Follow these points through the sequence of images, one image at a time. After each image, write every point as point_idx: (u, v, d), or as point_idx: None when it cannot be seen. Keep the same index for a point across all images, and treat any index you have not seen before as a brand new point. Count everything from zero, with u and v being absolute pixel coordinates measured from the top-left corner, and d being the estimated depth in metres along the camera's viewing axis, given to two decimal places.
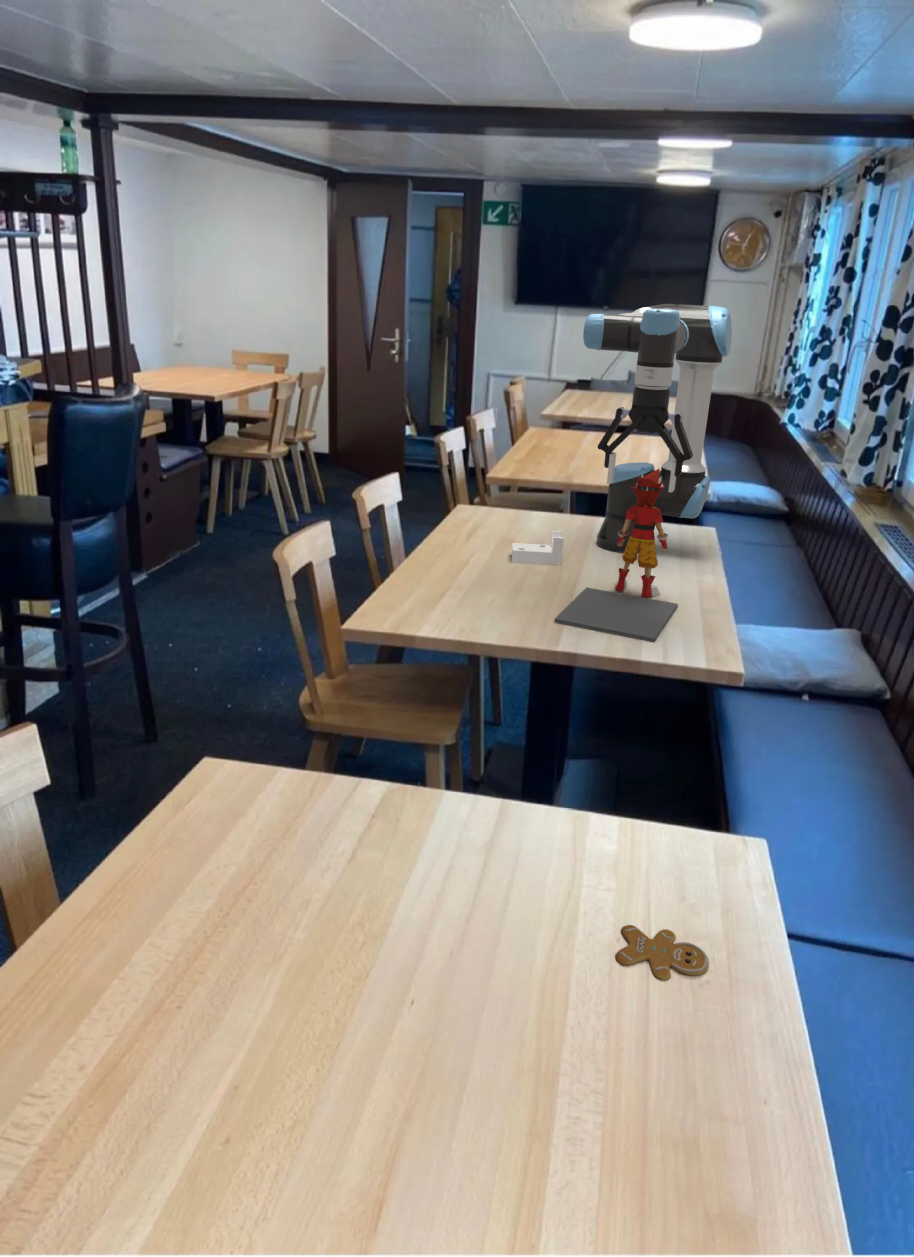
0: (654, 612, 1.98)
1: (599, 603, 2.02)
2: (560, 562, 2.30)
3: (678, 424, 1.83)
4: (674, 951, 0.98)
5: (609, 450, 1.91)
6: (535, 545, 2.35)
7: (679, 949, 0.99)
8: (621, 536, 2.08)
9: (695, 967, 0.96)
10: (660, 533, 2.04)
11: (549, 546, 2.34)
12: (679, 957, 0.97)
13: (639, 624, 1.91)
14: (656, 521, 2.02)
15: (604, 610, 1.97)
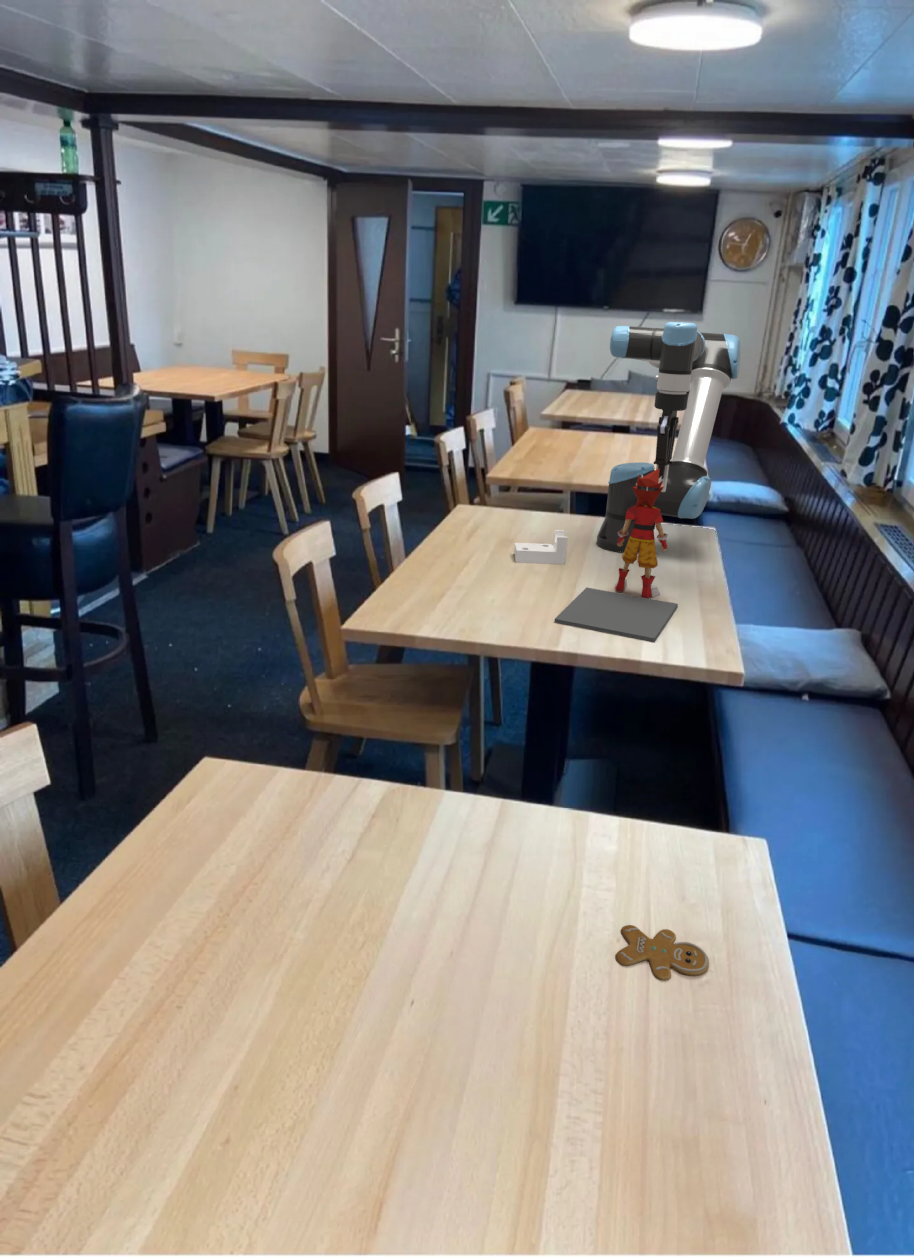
0: (654, 612, 1.98)
1: (599, 603, 2.02)
2: (564, 561, 2.31)
3: None
4: (674, 951, 0.98)
5: None
6: (538, 544, 2.35)
7: (679, 949, 0.99)
8: (621, 536, 2.08)
9: (695, 967, 0.96)
10: (660, 533, 2.04)
11: (552, 545, 2.35)
12: (679, 957, 0.97)
13: (639, 624, 1.91)
14: (656, 521, 2.02)
15: (604, 610, 1.97)
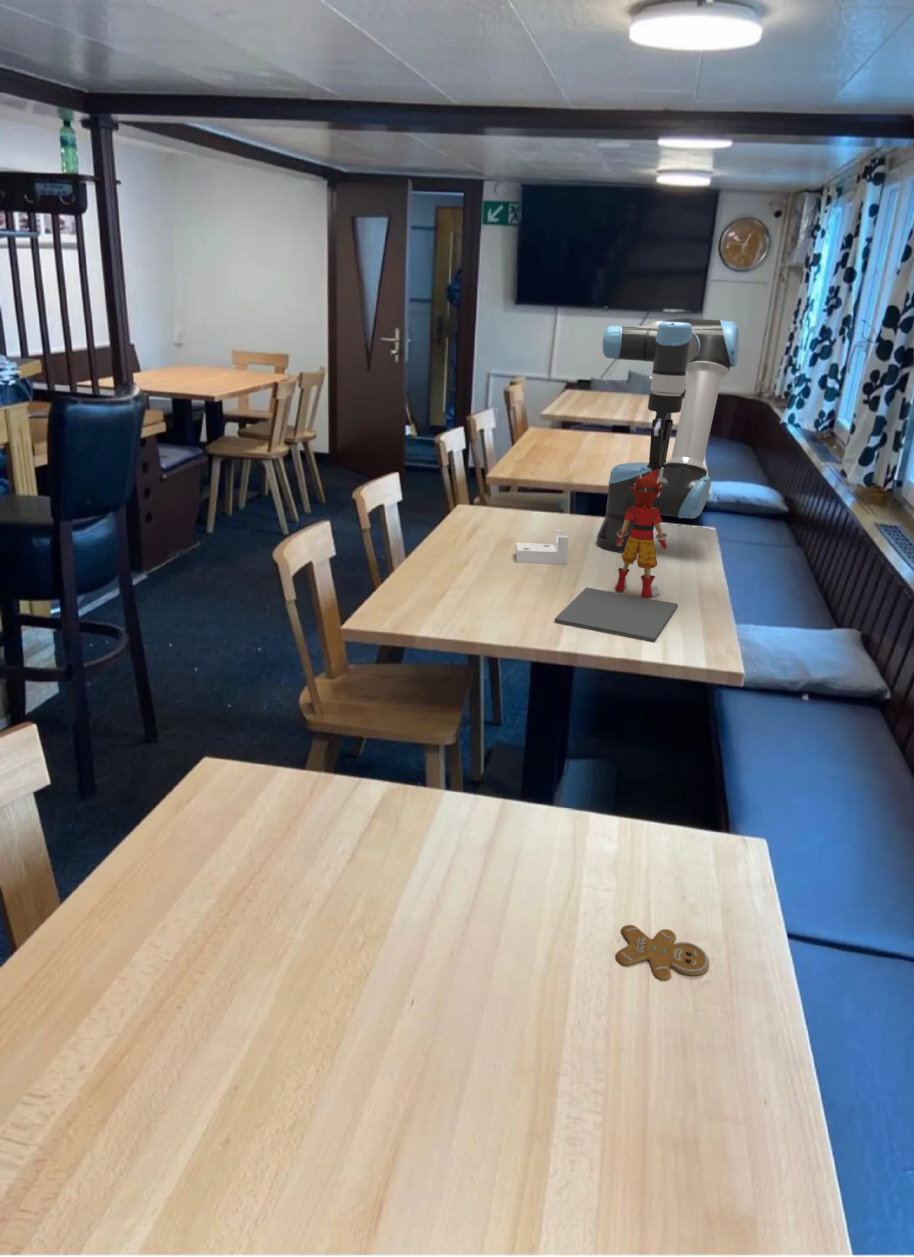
0: (654, 612, 1.98)
1: (599, 603, 2.02)
2: (565, 561, 2.31)
3: None
4: (674, 951, 0.98)
5: None
6: (539, 544, 2.35)
7: (679, 949, 0.99)
8: (620, 536, 2.07)
9: (695, 967, 0.96)
10: (659, 533, 2.04)
11: (553, 545, 2.35)
12: (679, 957, 0.97)
13: (639, 624, 1.91)
14: (655, 521, 2.02)
15: (604, 610, 1.97)
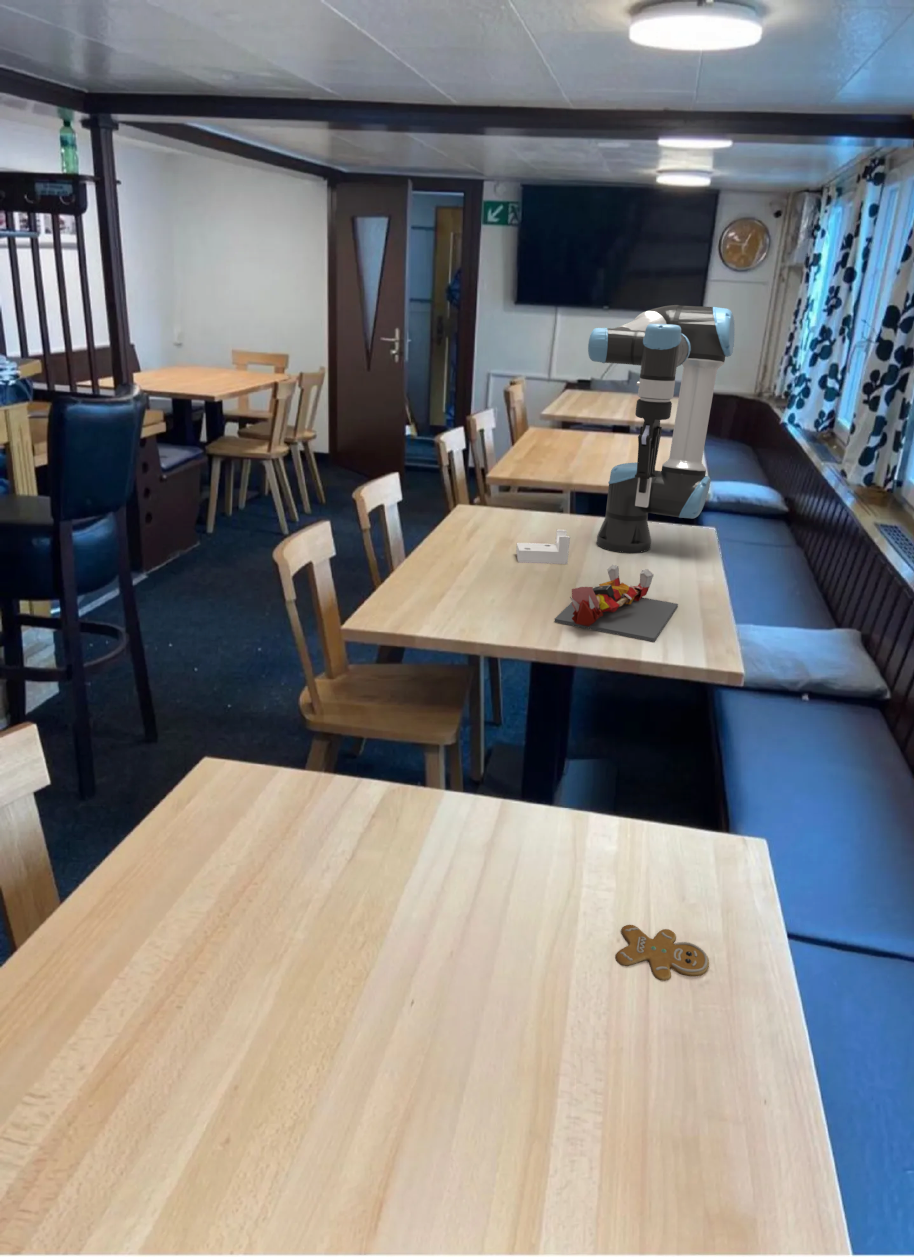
0: (654, 612, 1.98)
1: None
2: (566, 561, 2.31)
3: None
4: (675, 951, 0.98)
5: None
6: (540, 544, 2.35)
7: (679, 949, 0.99)
8: None
9: (695, 967, 0.96)
10: None
11: (554, 545, 2.35)
12: (679, 957, 0.97)
13: (639, 624, 1.91)
14: (614, 611, 1.92)
15: None
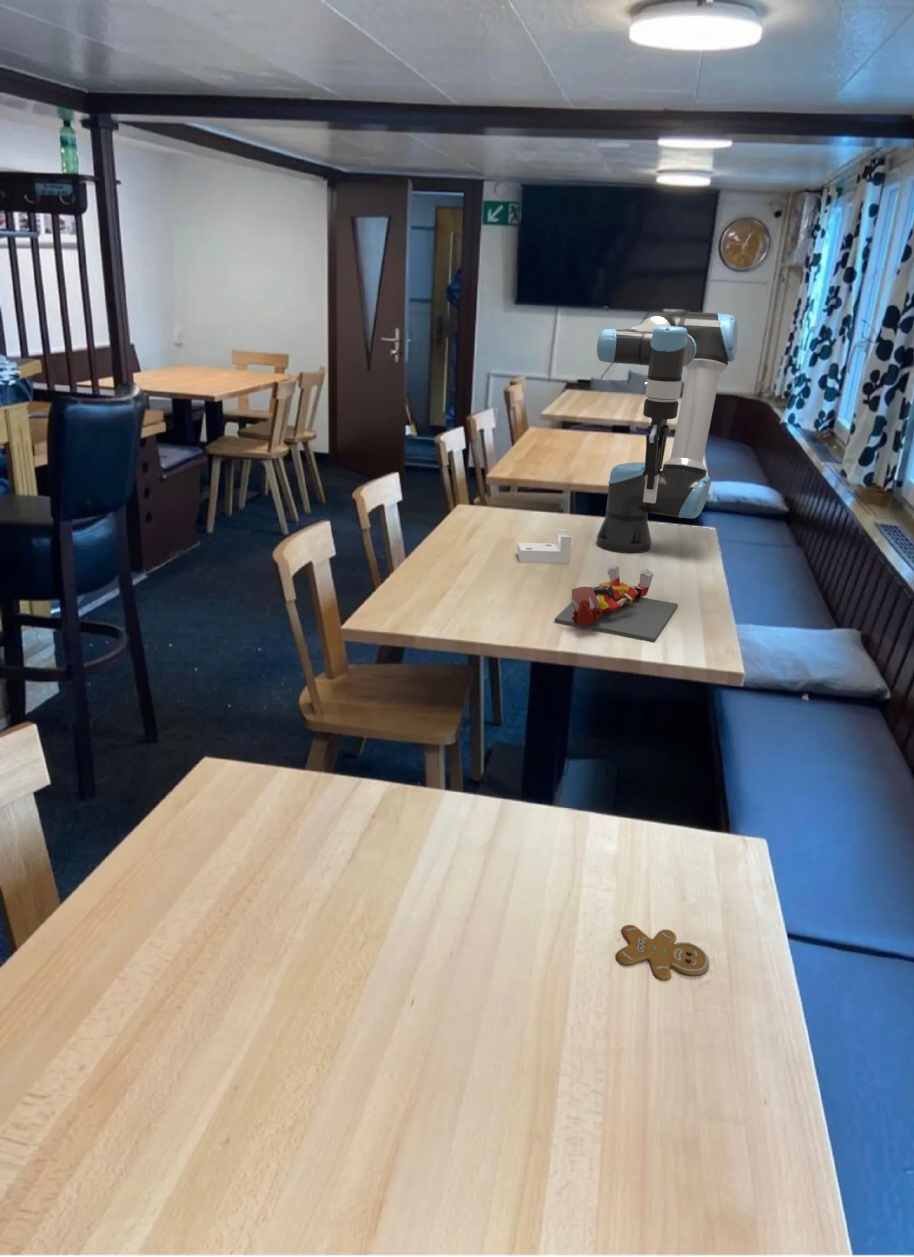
0: (654, 612, 1.98)
1: None
2: (568, 560, 2.32)
3: None
4: (675, 951, 0.98)
5: None
6: (541, 544, 2.36)
7: (679, 949, 0.99)
8: None
9: (695, 967, 0.96)
10: None
11: (555, 545, 2.36)
12: (679, 957, 0.97)
13: (639, 624, 1.91)
14: (614, 611, 1.92)
15: None
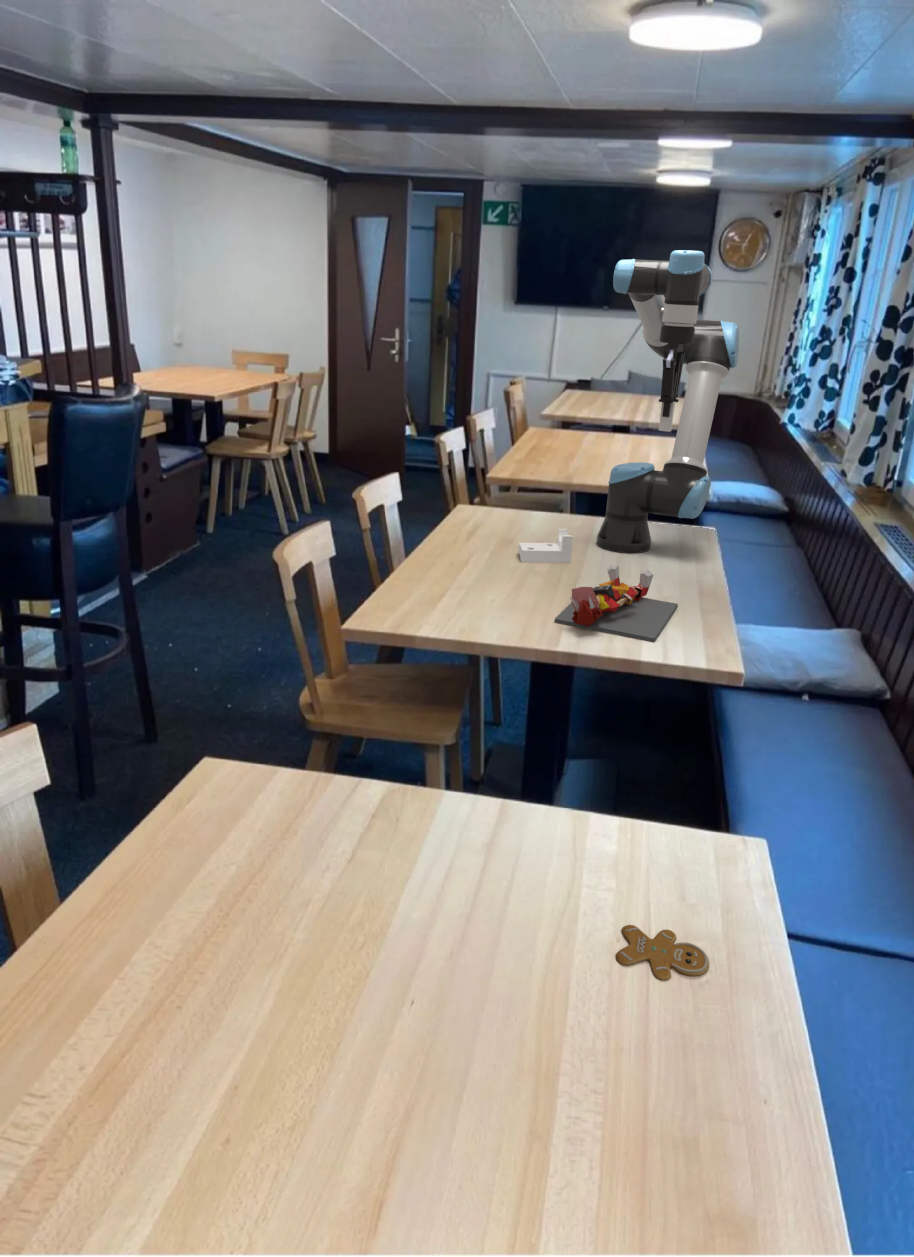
0: (654, 612, 1.98)
1: None
2: (569, 560, 2.32)
3: None
4: (675, 952, 0.98)
5: None
6: (542, 544, 2.36)
7: (679, 949, 0.99)
8: None
9: (695, 967, 0.96)
10: None
11: (556, 544, 2.36)
12: (679, 957, 0.97)
13: (639, 624, 1.91)
14: (614, 611, 1.92)
15: None
